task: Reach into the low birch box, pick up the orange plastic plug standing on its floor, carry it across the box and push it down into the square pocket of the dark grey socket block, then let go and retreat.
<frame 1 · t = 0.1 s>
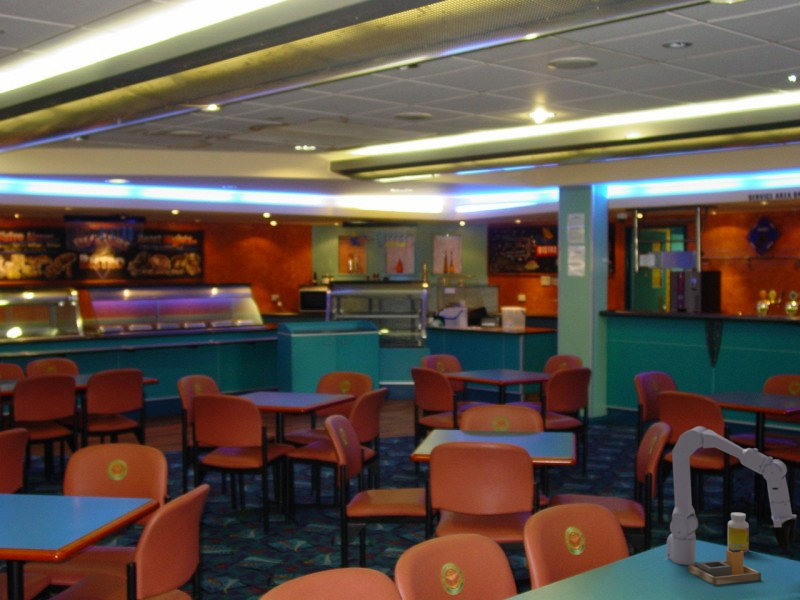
hand: (787, 546, 302), 11 cm above the table, tool pointing down, fingers open, 7 cm apart
supplement bottle: (738, 553, 332), on the table
walled box: (723, 578, 305), on the table
inlet socket: (714, 575, 304), resting on walled box
plug: (734, 573, 306), point 1 cm above the table, touching walled box
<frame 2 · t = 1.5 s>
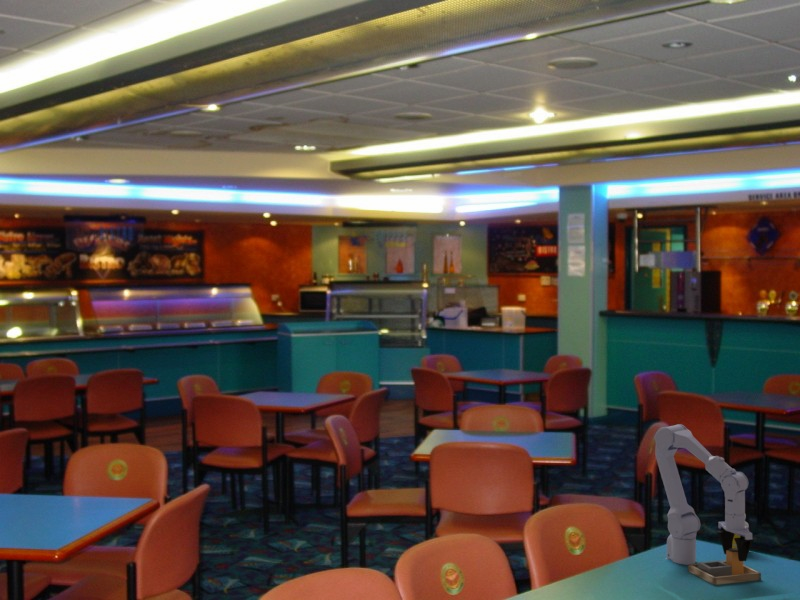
hand: (735, 557, 306), 6 cm above the table, tool pointing down, fingers open, 7 cm apart
nothing on the table moved.
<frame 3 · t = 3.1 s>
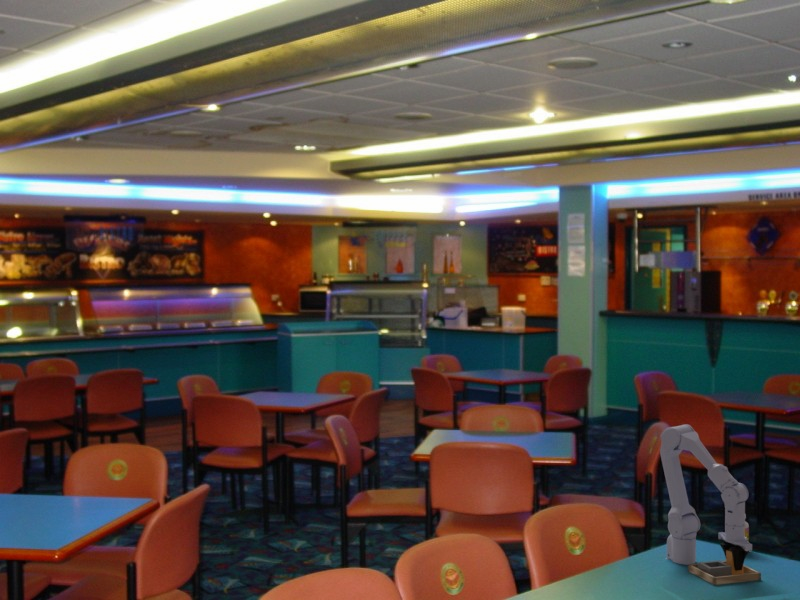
hand: (734, 568, 306), 3 cm above the table, tool pointing down, fingers closed on plug, 3 cm apart
plug: (734, 573, 306), point 1 cm above the table, touching gripper, walled box
everything else where it was.
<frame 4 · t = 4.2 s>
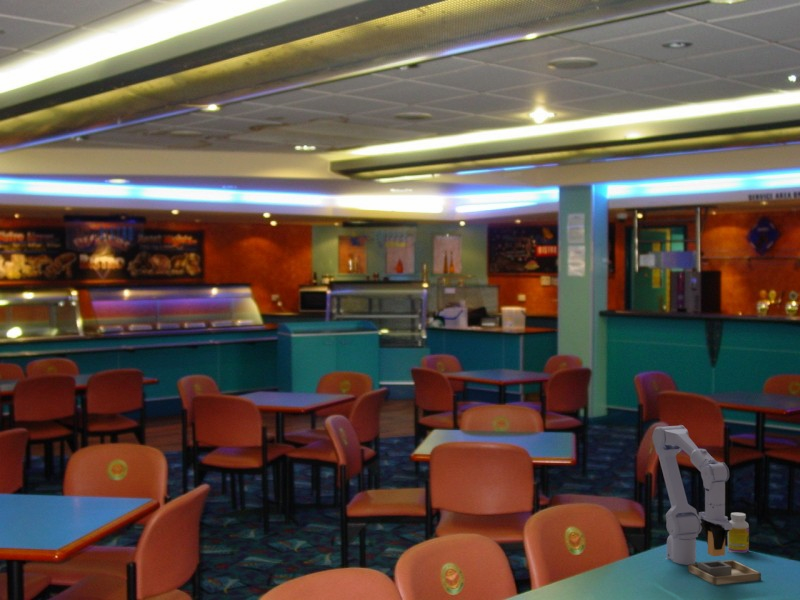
hand: (714, 547, 304), 10 cm above the table, tool pointing down, fingers closed on plug, 3 cm apart
plug: (716, 554, 304), point 8 cm above the table, touching gripper
everything else where it was.
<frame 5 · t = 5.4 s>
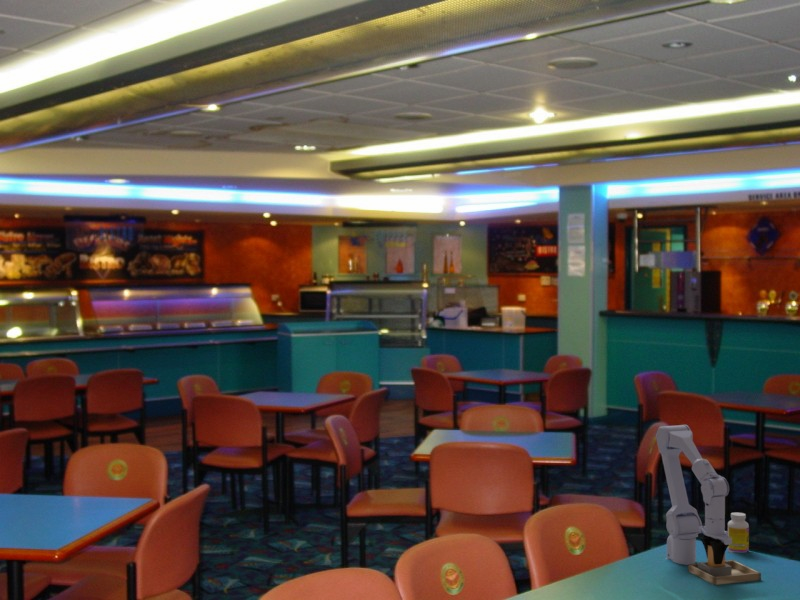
hand: (714, 562, 304), 5 cm above the table, tool pointing down, fingers closed on plug, 3 cm apart
plug: (716, 569, 305), point 3 cm above the table, touching gripper
everything else where it was.
when the fingers open (5 cm above the table, at t = 5.6 s): plug stays where it is, resting on inlet socket.
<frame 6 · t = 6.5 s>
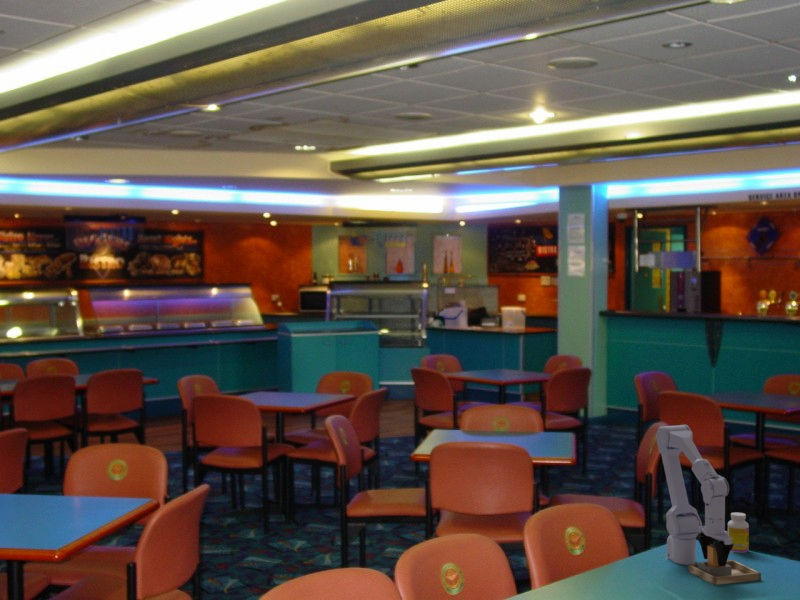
hand: (714, 562, 304), 5 cm above the table, tool pointing down, fingers open, 7 cm apart
plug: (716, 569, 305), point 3 cm above the table, touching inlet socket
everything else where it was.
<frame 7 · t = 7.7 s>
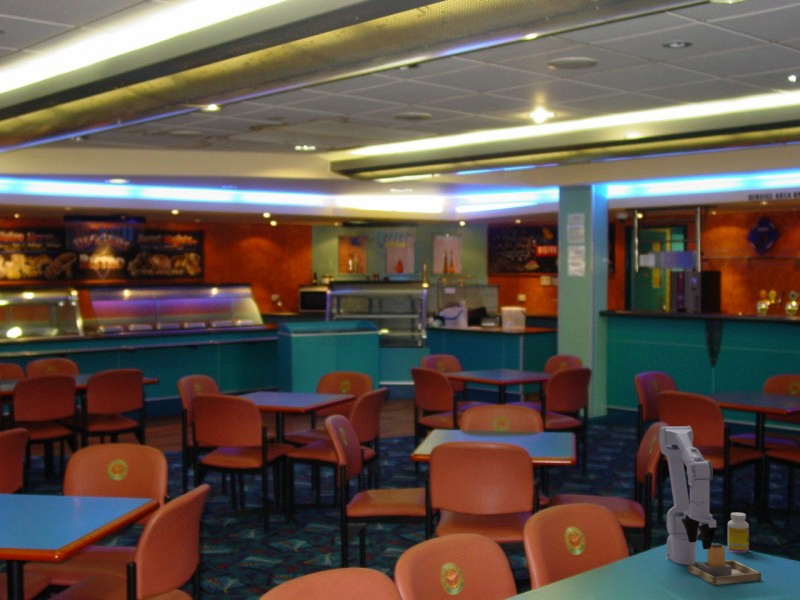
hand: (699, 545, 304), 10 cm above the table, tool pointing down, fingers open, 7 cm apart
nothing on the table moved.
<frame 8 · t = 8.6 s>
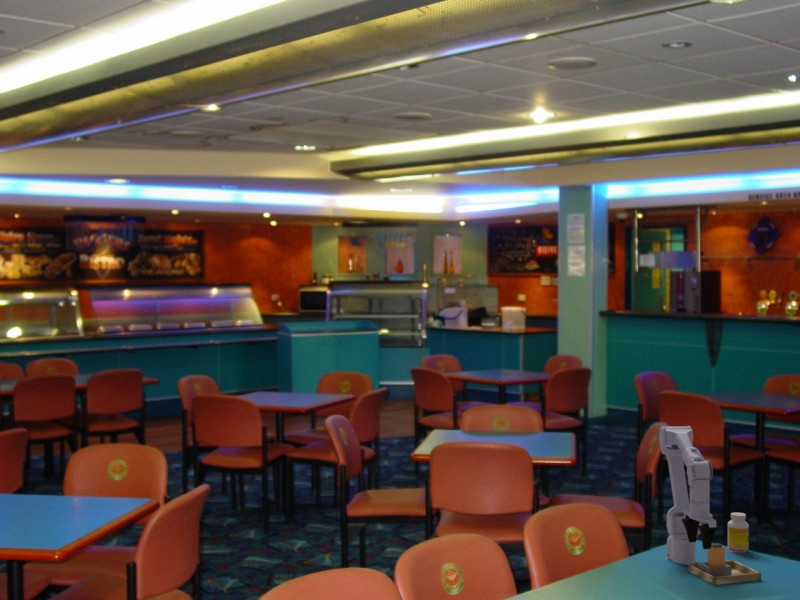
hand: (699, 545, 304), 10 cm above the table, tool pointing down, fingers open, 7 cm apart
nothing on the table moved.
at the end: plug 0.5 cm from the target spot, point 3.0 cm above the table; plug tilted 0°; the gripper is holding nothing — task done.
